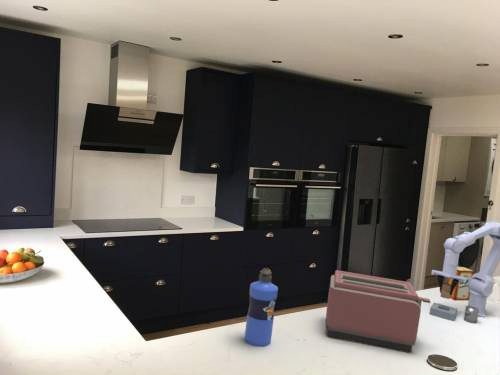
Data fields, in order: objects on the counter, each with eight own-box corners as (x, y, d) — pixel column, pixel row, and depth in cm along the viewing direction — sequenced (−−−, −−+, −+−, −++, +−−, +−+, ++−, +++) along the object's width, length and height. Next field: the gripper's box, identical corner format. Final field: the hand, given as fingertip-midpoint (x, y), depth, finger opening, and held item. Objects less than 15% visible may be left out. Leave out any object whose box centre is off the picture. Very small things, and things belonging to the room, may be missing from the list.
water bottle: (276, 340, 148) (285, 270, 146) (261, 349, 140) (270, 275, 138) (253, 331, 153) (262, 263, 151) (238, 339, 145) (247, 267, 143)
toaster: (428, 357, 149) (437, 300, 147) (323, 337, 156) (331, 282, 154) (417, 335, 168) (426, 284, 166) (325, 317, 175) (332, 268, 173)
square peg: (441, 295, 200) (443, 282, 200) (450, 297, 198) (452, 284, 198) (440, 296, 197) (442, 284, 197) (448, 299, 195) (451, 286, 195)
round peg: (464, 317, 195) (466, 304, 194) (477, 321, 192) (479, 308, 192) (463, 320, 190) (465, 307, 190) (476, 324, 188) (478, 311, 187)
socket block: (433, 308, 202) (433, 302, 202) (456, 315, 197) (457, 308, 197) (429, 314, 194) (430, 307, 193) (453, 321, 188) (454, 314, 188)
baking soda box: (459, 295, 229) (464, 266, 227) (469, 300, 222) (474, 270, 221) (445, 295, 226) (449, 266, 224) (454, 300, 219) (459, 269, 218)
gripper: (432, 262, 197) (427, 290, 198) (467, 270, 189) (462, 300, 190) (434, 259, 203) (430, 287, 204) (468, 267, 195) (463, 296, 196)
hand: (445, 293), depth 198 cm, fingers closed on square peg, 4 cm apart
